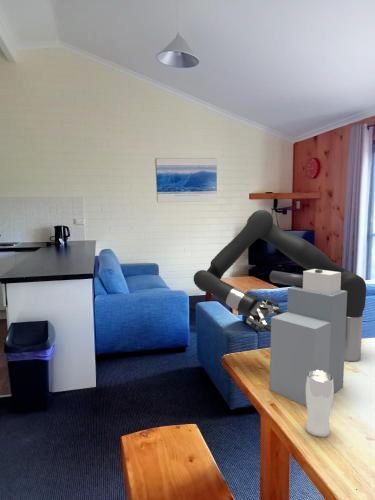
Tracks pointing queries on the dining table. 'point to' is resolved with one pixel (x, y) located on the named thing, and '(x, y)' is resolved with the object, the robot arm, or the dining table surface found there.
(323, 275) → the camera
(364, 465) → the dining table surface
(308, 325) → the stepped stand
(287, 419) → the dining table surface
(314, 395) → the beer glass
